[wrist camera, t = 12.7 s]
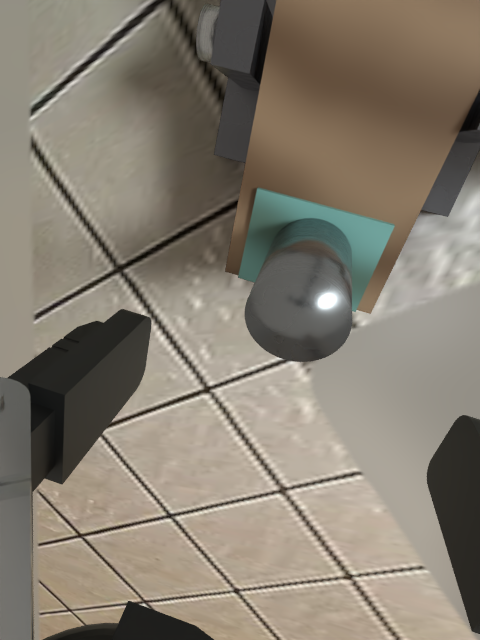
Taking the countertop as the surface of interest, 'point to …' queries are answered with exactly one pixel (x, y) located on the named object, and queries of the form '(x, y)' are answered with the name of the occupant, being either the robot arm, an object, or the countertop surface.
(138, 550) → the countertop surface
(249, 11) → the seesaw stand
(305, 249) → the cylinder
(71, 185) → the countertop surface
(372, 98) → the beam
